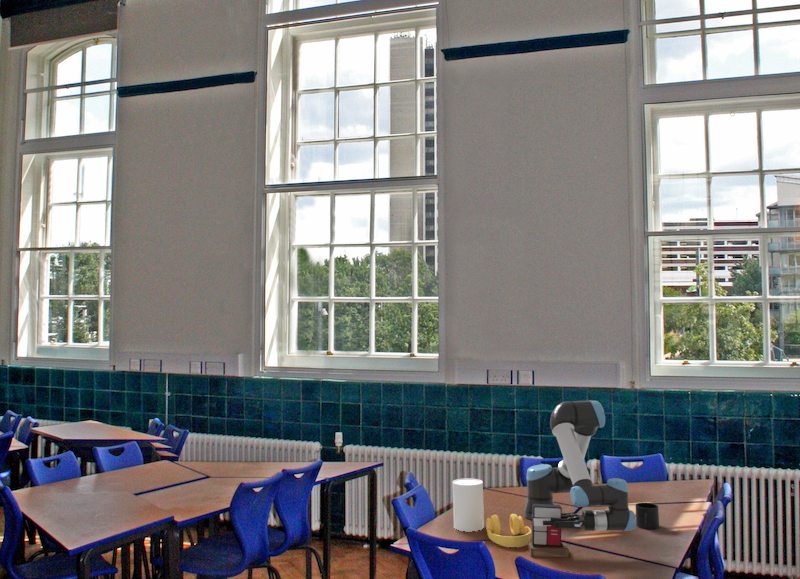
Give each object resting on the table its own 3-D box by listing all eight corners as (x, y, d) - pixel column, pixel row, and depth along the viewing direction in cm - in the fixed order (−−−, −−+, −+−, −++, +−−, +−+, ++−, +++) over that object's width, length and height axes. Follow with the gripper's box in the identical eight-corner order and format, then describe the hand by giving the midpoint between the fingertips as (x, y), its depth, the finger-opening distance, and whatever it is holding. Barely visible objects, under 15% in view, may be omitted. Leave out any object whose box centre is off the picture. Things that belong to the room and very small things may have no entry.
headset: (494, 549, 259) (493, 525, 260) (482, 534, 280) (481, 512, 281) (537, 547, 261) (536, 523, 262) (522, 532, 282) (521, 511, 283)
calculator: (532, 545, 252) (533, 506, 253) (531, 541, 256) (532, 503, 257) (561, 547, 251) (562, 508, 252) (559, 543, 256) (560, 504, 256)
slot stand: (528, 549, 257) (528, 542, 258) (565, 550, 256) (565, 542, 257) (531, 556, 250) (530, 548, 250) (568, 556, 249) (568, 548, 249)
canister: (487, 530, 284) (486, 484, 285) (458, 532, 281) (456, 486, 283) (479, 521, 297) (477, 477, 298) (450, 523, 295) (449, 479, 296)
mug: (634, 529, 280) (633, 508, 280) (637, 522, 291) (636, 501, 291) (658, 532, 276) (657, 510, 277) (659, 524, 287) (658, 503, 287)
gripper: (599, 537, 244) (536, 537, 246) (589, 523, 261) (530, 523, 263) (598, 516, 244) (535, 517, 246) (588, 504, 261) (530, 504, 263)
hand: (533, 520), depth 254 cm, fingers closed on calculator, 4 cm apart
